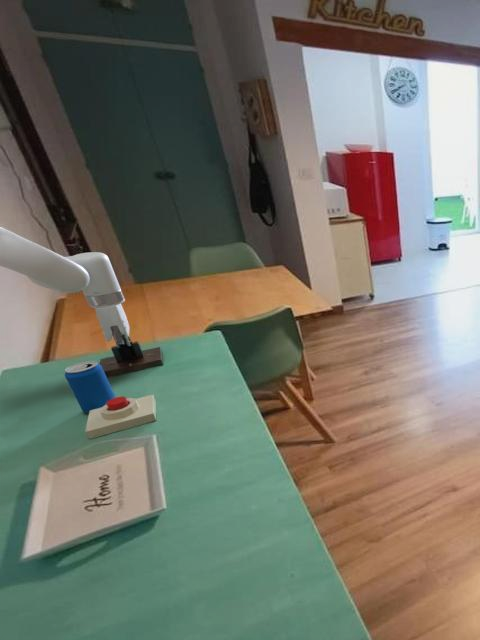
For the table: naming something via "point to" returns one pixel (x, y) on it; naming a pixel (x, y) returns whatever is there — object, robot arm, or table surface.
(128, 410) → the housing
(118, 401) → the button
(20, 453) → the table surface
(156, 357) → the panel
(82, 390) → the beverage can
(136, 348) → the knob
